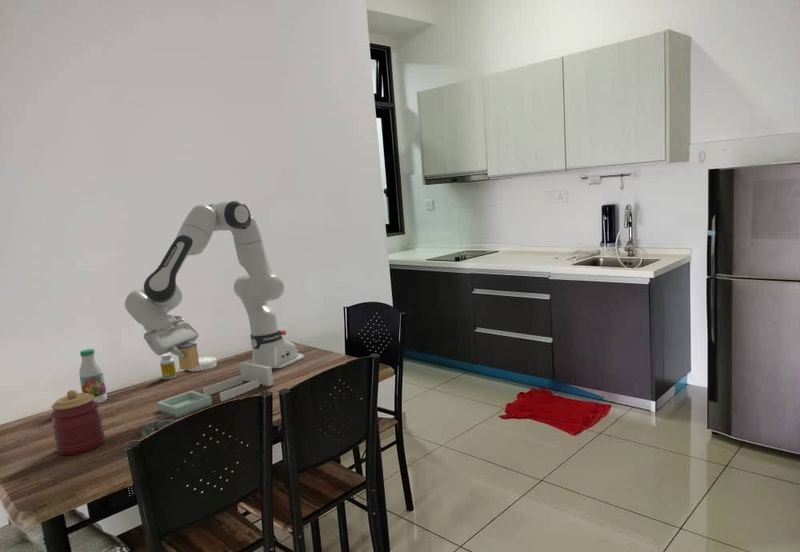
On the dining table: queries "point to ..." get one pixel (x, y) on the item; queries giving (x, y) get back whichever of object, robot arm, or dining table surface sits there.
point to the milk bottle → (92, 376)
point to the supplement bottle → (167, 366)
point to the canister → (76, 423)
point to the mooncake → (205, 364)
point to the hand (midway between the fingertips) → (189, 354)
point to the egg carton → (155, 426)
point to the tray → (184, 403)
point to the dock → (248, 373)
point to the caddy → (189, 356)
